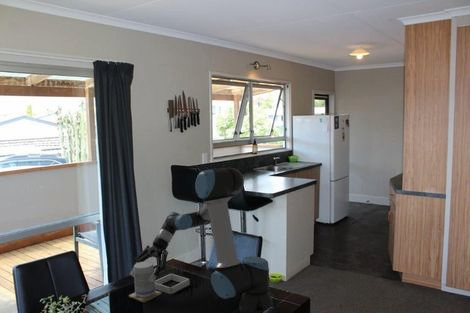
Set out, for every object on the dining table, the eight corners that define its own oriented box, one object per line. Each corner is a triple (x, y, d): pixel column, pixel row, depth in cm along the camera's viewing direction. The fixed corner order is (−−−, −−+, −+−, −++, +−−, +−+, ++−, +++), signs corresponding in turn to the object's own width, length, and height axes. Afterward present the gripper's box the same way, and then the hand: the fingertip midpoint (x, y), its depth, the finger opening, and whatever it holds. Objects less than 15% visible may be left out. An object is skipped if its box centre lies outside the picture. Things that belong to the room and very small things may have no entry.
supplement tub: (158, 294, 194) (156, 265, 192) (139, 299, 189) (137, 269, 187) (150, 287, 202) (149, 259, 200) (132, 292, 197) (130, 263, 195)
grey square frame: (189, 284, 206) (189, 279, 206) (170, 294, 196) (170, 288, 195) (171, 278, 215) (170, 273, 214) (151, 287, 204) (151, 282, 203)
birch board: (161, 293, 196) (161, 292, 196) (144, 302, 188) (143, 300, 188) (146, 288, 203) (146, 287, 203) (128, 296, 194) (128, 295, 194)
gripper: (184, 248, 198) (163, 287, 188) (150, 239, 213) (129, 276, 203) (176, 240, 194) (154, 280, 183) (141, 232, 208) (119, 269, 198)
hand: (141, 278), depth 193 cm, fingers open, 13 cm apart
